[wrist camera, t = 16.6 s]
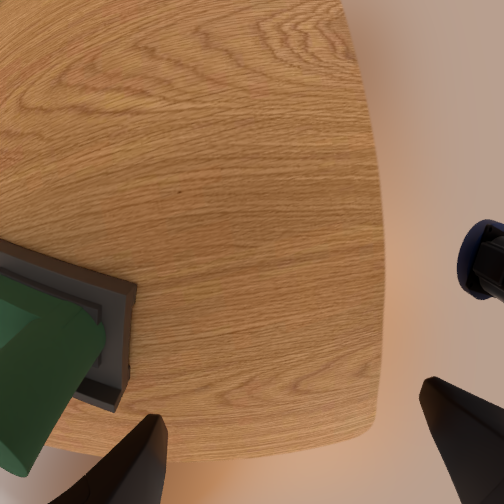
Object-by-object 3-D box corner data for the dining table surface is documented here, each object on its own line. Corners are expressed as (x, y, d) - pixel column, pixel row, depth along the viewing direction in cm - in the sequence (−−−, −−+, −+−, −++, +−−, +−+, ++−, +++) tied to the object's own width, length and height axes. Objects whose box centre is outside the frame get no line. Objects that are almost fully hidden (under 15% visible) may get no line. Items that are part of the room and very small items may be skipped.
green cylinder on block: (107, 306, 18) (7, 438, 6) (106, 364, 20) (39, 491, 8) (0, 266, 17) (-106, 335, 5) (6, 321, 19) (-78, 401, 7)
